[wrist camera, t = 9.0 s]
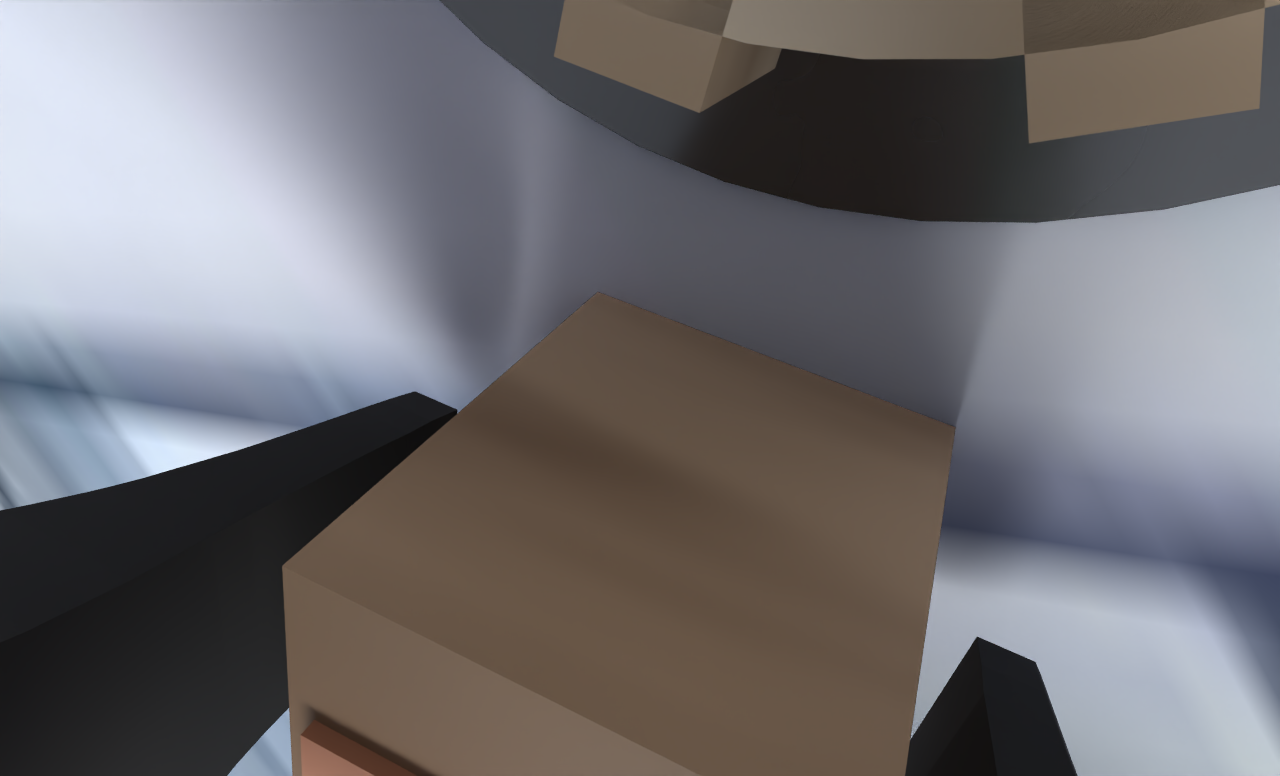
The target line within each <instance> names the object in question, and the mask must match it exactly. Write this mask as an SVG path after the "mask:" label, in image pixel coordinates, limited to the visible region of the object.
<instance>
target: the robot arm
mask: <svg viewBox="0 0 1280 776" xmlns="http://www.w3.org/2000/svg"><path fill="white" fill-rule="evenodd" d="M455 415H457V409H454V408H452V407H450V406H447V405H445V404H443V403H441V402H438V401H436V400H434V399H431V398H429V397H427V396H425V395H422V394H420V393H418V392H411V393H408V394H405V395H401V396H398V397H395V398H392V399H389V400H386V401H383V402H380V403H377V404H374V405H371V406H368V407H365V408H362V409H359V410H356V411H353V412H350V413H348V414H345V415H342V416H339V417H336V418H333V419H330V420H327V421H324V422H322V423H319V424H316V425H313V426H310V427H307V428H304V429H301V430H298V431H295V432H292V433H289V434H286V435H283V436H280V437H277V438H274V439H271V440H268V441H265V442H262V443H259V444H256V445H253V446H250V447H247V448H244V449H241V450H238V451H234V452H231V453H227V454H224V455H221V456H217V457H214V458H210V459H207V460H204V461H200V462H197V463H193V464H190V465H187V466H183V467H180V468H176V469H173V470H169V471H166V472H163V473H159V474H156V475H152V476H149V477H146V478H142V479H138V480H134V481H130V482H127V483H123V484H119V485H115V486H111V487H107V488H103V489H98V490H94V491H90V492H86V493H81V494H77V495H72V496H68V497H63V498H59V499H54V500H49V501H45V502H40V503H36V504H31V505H26V506H21V507H16V508H11V509H6V510H1V511H0V776H227V775H228V774H229V773H230V771H231V770H232V769H233V768H234V767H235V765H236V764H237V763H238V762H239V761H240V760H241V759H242V757H243V756H244V755H245V754H246V753H247V752H248V751H249V750H250V749H251V747H252V746H253V745H254V744H255V743H256V742H257V741H258V740H259V738H260V737H261V736H262V735H263V734H264V733H265V732H266V731H267V730H268V729H269V728H270V727H271V726H272V725H273V724H274V723H275V722H276V720H277V719H278V718H279V717H280V716H281V715H282V714H283V713H284V712H285V711H286V710H287V709H288V708H289V692H288V672H287V652H286V632H285V612H284V592H283V572H282V566H283V565H284V564H285V563H286V562H287V561H288V560H289V559H291V558H292V557H293V556H294V555H295V554H296V553H298V552H299V551H300V550H301V549H302V548H303V547H304V546H306V545H307V544H308V543H309V542H310V541H311V540H313V539H314V538H315V537H316V536H317V535H318V534H319V533H321V532H322V531H323V530H324V529H325V528H326V527H328V526H329V525H330V524H331V523H332V522H333V521H334V520H336V519H337V518H338V517H339V516H340V515H341V514H342V513H344V512H345V511H346V510H347V509H348V508H349V507H351V506H352V505H353V504H354V503H355V502H356V501H357V500H359V499H360V498H361V497H362V496H363V495H364V494H366V493H367V492H368V491H369V490H370V489H371V488H372V487H374V486H375V485H376V484H377V483H378V482H379V481H381V480H382V479H383V478H384V477H385V476H386V475H387V474H389V473H390V472H391V471H392V470H393V469H394V468H395V467H397V466H398V465H399V464H400V463H401V462H402V461H404V460H405V459H406V458H407V457H408V456H409V455H410V454H412V453H413V452H414V451H415V450H416V449H417V448H419V447H420V446H421V445H422V444H423V443H424V442H425V441H427V440H428V439H429V438H430V437H431V436H432V435H434V434H435V433H436V432H437V431H438V430H439V429H440V428H442V427H443V426H444V425H445V424H446V423H447V422H449V421H450V420H451V419H452V418H453V417H454V416H455ZM905 776H1077V773H1076V771H1075V768H1074V765H1073V762H1072V760H1071V757H1070V754H1069V752H1068V749H1067V746H1066V743H1065V741H1064V738H1063V735H1062V732H1061V730H1060V727H1059V724H1058V721H1057V718H1056V716H1055V713H1054V710H1053V707H1052V704H1051V702H1050V699H1049V696H1048V693H1047V690H1046V688H1045V685H1044V682H1043V679H1042V677H1041V674H1040V672H1039V669H1038V667H1037V665H1036V662H1034V661H1032V660H1030V659H1027V658H1025V657H1023V656H1020V655H1018V654H1016V653H1014V652H1011V651H1009V650H1007V649H1004V648H1002V647H1000V646H997V645H995V644H993V643H991V642H988V641H986V640H984V639H981V638H979V637H977V638H976V639H975V641H974V642H973V644H972V645H971V647H970V648H969V650H968V652H967V653H966V655H965V656H964V658H963V659H962V661H961V662H960V664H959V665H958V667H957V669H956V670H955V672H954V673H953V675H952V676H951V678H950V679H949V681H948V683H947V684H946V686H945V687H944V689H943V690H942V692H941V693H940V695H939V697H938V698H937V700H936V701H935V703H934V704H933V706H932V707H931V709H930V710H929V712H928V714H927V715H926V717H925V718H924V720H923V721H922V723H921V724H920V726H919V728H918V729H917V731H916V732H915V734H914V735H913V737H912V738H911V740H910V744H909V751H908V758H907V765H906V772H905Z"/></svg>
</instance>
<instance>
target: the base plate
mask: <svg viewBox="0 0 1280 776" xmlns="http://www.w3.org/2000/svg"><path fill="white" fill-rule="evenodd" d="M440 1H441V2H442V3H443V4H444V5H445V6H446V7H447V8H448V9H449V10H450V11H451V12H452V13H453V14H454V15H456V16H457V17H458V18H459V19H460V20H461V21H462V22H463V23H464V24H465V25H466V26H467V27H468V28H469V29H470V30H471V31H472V32H473V33H474V34H475V35H476V36H477V37H478V38H479V39H480V40H481V41H482V42H483V43H485V44H486V45H487V46H488V47H490V48H491V49H492V50H494V51H495V52H496V53H498V54H499V55H500V56H502V57H503V58H504V59H506V60H507V61H508V62H509V63H511V64H512V65H513V66H515V67H516V68H517V69H519V70H520V71H521V72H523V73H524V74H525V75H527V76H528V77H529V78H530V79H532V80H533V81H534V82H536V83H537V84H538V85H540V86H541V87H542V88H544V89H545V90H546V91H548V92H549V93H550V94H551V95H553V96H554V97H555V98H557V99H558V100H560V101H562V102H563V103H565V104H567V105H568V106H570V107H572V108H574V109H575V110H577V111H579V112H581V113H582V114H584V115H586V116H587V117H589V118H591V119H593V120H594V121H596V122H598V123H600V124H601V125H603V126H605V127H606V128H608V129H610V130H612V131H613V132H615V133H617V134H619V135H620V136H622V137H624V138H625V139H627V140H629V141H631V142H632V143H634V144H636V145H638V146H640V147H642V148H645V149H647V150H650V151H652V152H654V153H657V154H659V155H662V156H664V157H666V158H669V159H671V160H674V161H676V162H678V163H681V164H683V165H686V166H688V167H690V168H693V169H695V170H698V171H700V172H702V173H705V174H707V175H710V176H712V177H714V178H717V179H719V180H722V181H724V182H728V183H731V184H735V185H739V186H742V187H746V188H750V189H754V190H757V191H761V192H765V193H768V194H772V195H776V196H779V197H783V198H787V199H791V200H794V201H798V202H802V203H805V204H809V205H813V206H817V207H822V208H829V209H837V210H844V211H851V212H859V213H866V214H873V215H881V216H888V217H895V218H903V219H910V220H918V221H954V222H1034V223H1037V222H1046V221H1056V220H1066V219H1076V218H1085V217H1095V216H1105V215H1114V214H1124V213H1134V212H1143V211H1153V210H1163V209H1168V208H1173V207H1178V206H1182V205H1187V204H1192V203H1197V202H1201V201H1206V200H1211V199H1215V198H1220V197H1225V196H1230V195H1234V194H1239V193H1244V192H1248V191H1253V190H1258V189H1263V188H1267V187H1272V186H1277V185H1280V4H1279V5H1275V6H1271V7H1267V8H1265V14H1264V33H1263V51H1262V69H1261V87H1260V105H1259V109H1253V110H1246V111H1239V112H1233V113H1226V114H1220V115H1213V116H1206V117H1200V118H1193V119H1187V120H1180V121H1173V122H1167V123H1160V124H1154V125H1147V126H1140V127H1134V128H1127V129H1121V130H1114V131H1107V132H1101V133H1094V134H1088V135H1081V136H1074V137H1068V138H1061V139H1055V140H1048V141H1041V142H1035V143H1029V134H1028V114H1027V94H1026V74H1025V55H1018V56H1010V57H1003V58H995V59H857V58H850V57H843V56H835V55H828V54H821V53H813V52H806V51H799V50H791V49H784V48H782V49H781V52H780V55H779V58H778V61H777V64H776V67H775V69H773V70H772V71H770V72H768V73H766V74H765V75H763V76H761V77H760V78H758V79H756V80H755V81H753V82H751V83H750V84H748V85H746V86H744V87H743V88H741V89H739V90H738V91H736V92H734V93H733V94H731V95H729V96H727V97H726V98H724V99H722V100H721V101H719V102H717V103H716V104H714V105H712V106H711V107H709V108H707V109H705V110H704V111H702V112H700V113H698V112H696V111H693V110H690V109H688V108H685V107H683V106H680V105H678V104H675V103H672V102H670V101H667V100H665V99H662V98H660V97H657V96H654V95H652V94H649V93H647V92H644V91H641V90H639V89H636V88H634V87H631V86H629V85H626V84H623V83H621V82H618V81H616V80H613V79H611V78H608V77H605V76H603V75H600V74H598V73H595V72H593V71H590V70H587V69H585V68H582V67H580V66H577V65H574V64H572V63H569V62H567V61H564V60H562V59H559V58H556V57H554V53H555V48H556V43H557V37H558V32H559V27H560V22H561V16H562V11H563V6H564V1H565V0H440Z"/></svg>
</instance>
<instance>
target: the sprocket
mask: <svg viewBox="0 0 1280 776" xmlns="http://www.w3.org/2000/svg"><path fill="white" fill-rule="evenodd" d="M1279 4H1280V0H565V1H564V6H563V11H562V16H561V22H560V27H559V32H558V37H557V43H556V48H555V53H554V57H556V58H559V59H562V60H564V61H567V62H569V63H572V64H574V65H577V66H580V67H582V68H585V69H587V70H590V71H593V72H595V73H598V74H600V75H603V76H605V77H608V78H611V79H613V80H616V81H618V82H621V83H623V84H626V85H629V86H631V87H634V88H636V89H639V90H641V91H644V92H647V93H649V94H652V95H654V96H657V97H660V98H662V99H665V100H667V101H670V102H672V103H675V104H678V105H680V106H683V107H685V108H688V109H690V110H693V111H696V112H698V113H700V112H702V111H704V110H705V109H707V108H709V107H711V106H712V105H714V104H716V103H717V102H719V101H721V100H722V99H724V98H726V97H727V96H729V95H731V94H733V93H734V92H736V91H738V90H739V89H741V88H743V87H744V86H746V85H748V84H750V83H751V82H753V81H755V80H756V79H758V78H760V77H761V76H763V75H765V74H766V73H768V72H770V71H772V70H773V69H775V67H776V64H777V61H778V58H779V55H780V52H781V49H782V48H784V49H791V50H799V51H806V52H813V53H821V54H828V55H835V56H843V57H850V58H857V59H995V58H1003V57H1010V56H1018V55H1025V74H1026V94H1027V114H1028V134H1029V143H1035V142H1041V141H1048V140H1055V139H1061V138H1068V137H1074V136H1081V135H1088V134H1094V133H1101V132H1107V131H1114V130H1121V129H1127V128H1134V127H1140V126H1147V125H1154V124H1160V123H1167V122H1173V121H1180V120H1187V119H1193V118H1200V117H1206V116H1213V115H1220V114H1226V113H1233V112H1239V111H1246V110H1253V109H1259V105H1260V87H1261V69H1262V51H1263V33H1264V14H1265V8H1267V7H1271V6H1275V5H1279Z"/></svg>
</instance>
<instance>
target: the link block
mask: <svg viewBox="0 0 1280 776" xmlns="http://www.w3.org/2000/svg"><path fill="white" fill-rule="evenodd" d="M955 429H956V427H953V426H950V425H948V424H945V423H943V422H940V421H937V420H935V419H932V418H929V417H927V416H924V415H921V414H919V413H916V412H914V411H911V410H908V409H906V408H903V407H900V406H898V405H895V404H892V403H890V402H887V401H884V400H882V399H879V398H877V397H874V396H871V395H869V394H866V393H863V392H861V391H858V390H855V389H853V388H850V387H848V386H845V385H842V384H840V383H837V382H834V381H832V380H829V379H826V378H824V377H821V376H818V375H816V374H813V373H811V372H808V371H805V370H803V369H800V368H797V367H795V366H792V365H789V364H787V363H784V362H782V361H779V360H776V359H774V358H771V357H768V356H766V355H763V354H760V353H758V352H755V351H752V350H750V349H747V348H745V347H742V346H739V345H737V344H734V343H731V342H729V341H726V340H723V339H721V338H718V337H716V336H713V335H710V334H708V333H705V332H702V331H700V330H697V329H694V328H692V327H689V326H686V325H684V324H681V323H679V322H676V321H673V320H671V319H668V318H665V317H663V316H660V315H657V314H655V313H652V312H650V311H647V310H644V309H642V308H639V307H636V306H634V305H631V304H628V303H626V302H623V301H620V300H618V299H615V298H613V297H610V296H607V295H605V294H602V293H599V292H597V293H596V294H595V295H594V296H593V297H591V298H590V299H589V300H588V301H587V302H586V303H584V304H583V305H582V306H581V307H580V308H579V309H578V310H576V311H575V312H574V313H573V314H572V315H571V316H569V317H568V318H567V319H566V320H565V321H564V322H563V323H561V324H560V325H559V326H558V327H557V328H556V329H555V330H553V331H552V332H551V333H550V334H549V335H548V336H546V337H545V338H544V339H543V340H542V341H541V342H540V343H538V344H537V345H536V346H535V347H534V348H533V349H531V350H530V351H529V352H528V353H527V354H526V355H525V356H523V357H522V358H521V359H520V360H519V361H518V362H516V363H515V364H514V365H513V366H512V367H511V368H510V369H508V370H507V371H506V372H505V373H504V374H503V375H502V376H500V377H499V378H498V379H497V380H496V381H495V382H493V383H492V384H491V385H490V386H489V387H488V388H487V389H485V390H484V391H483V392H482V393H481V394H480V395H478V396H477V397H476V398H475V399H474V400H473V401H472V402H470V403H469V404H468V405H467V406H466V407H465V408H463V409H462V410H461V411H460V412H459V413H458V414H457V415H455V416H454V417H453V418H452V419H451V420H450V421H449V422H447V423H446V424H445V425H444V426H443V427H442V428H440V429H439V430H438V431H437V432H436V433H435V434H434V435H432V436H431V437H430V438H429V439H428V440H427V441H425V442H424V443H423V444H422V445H421V446H420V447H419V448H417V449H416V450H415V451H414V452H413V453H412V454H410V455H409V456H408V457H407V458H406V459H405V460H404V461H402V462H401V463H400V464H399V465H398V466H397V467H395V468H394V469H393V470H392V471H391V472H390V473H389V474H387V475H386V476H385V477H384V478H383V479H382V480H381V481H379V482H378V483H377V484H376V485H375V486H374V487H372V488H371V489H370V490H369V491H368V492H367V493H366V494H364V495H363V496H362V497H361V498H360V499H359V500H357V501H356V502H355V503H354V504H353V505H352V506H351V507H349V508H348V509H347V510H346V511H345V512H344V513H342V514H341V515H340V516H339V517H338V518H337V519H336V520H334V521H333V522H332V523H331V524H330V525H329V526H328V527H326V528H325V529H324V530H323V531H322V532H321V533H319V534H318V535H317V536H316V537H315V538H314V539H313V540H311V541H310V542H309V543H308V544H307V545H306V546H304V547H303V548H302V549H301V550H300V551H299V552H298V553H296V554H295V555H294V556H293V557H292V558H291V559H289V560H288V561H287V562H286V563H285V564H284V565H283V566H282V572H283V592H284V612H285V632H286V652H287V672H288V692H289V712H290V732H291V752H292V772H293V776H905V772H906V765H907V758H908V751H909V744H910V737H911V730H912V723H913V717H914V710H915V703H916V696H917V689H918V682H919V675H920V669H921V662H922V655H923V648H924V641H925V634H926V627H927V621H928V614H929V607H930V600H931V593H932V586H933V579H934V573H935V566H936V559H937V552H938V545H939V538H940V531H941V525H942V518H943V511H944V504H945V497H946V490H947V483H948V477H949V470H950V463H951V456H952V449H953V442H954V435H955Z"/></svg>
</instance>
